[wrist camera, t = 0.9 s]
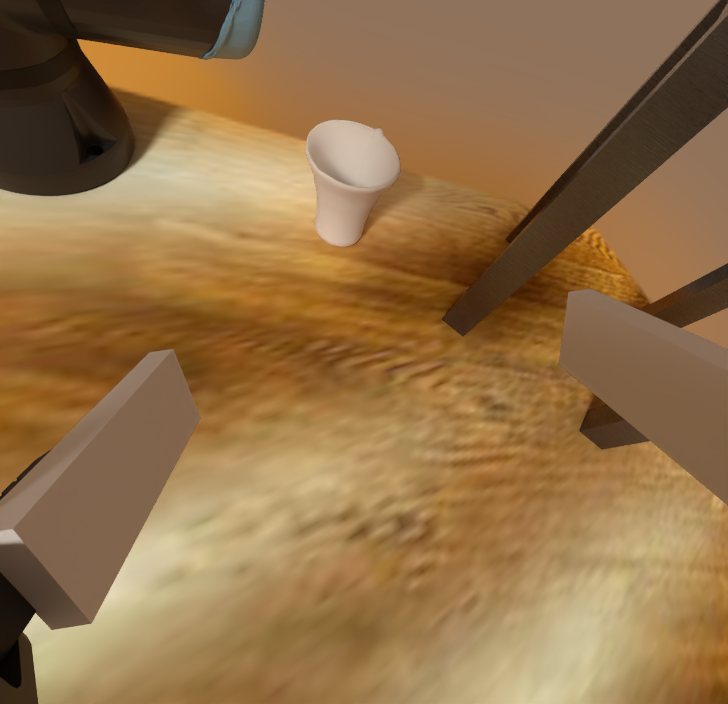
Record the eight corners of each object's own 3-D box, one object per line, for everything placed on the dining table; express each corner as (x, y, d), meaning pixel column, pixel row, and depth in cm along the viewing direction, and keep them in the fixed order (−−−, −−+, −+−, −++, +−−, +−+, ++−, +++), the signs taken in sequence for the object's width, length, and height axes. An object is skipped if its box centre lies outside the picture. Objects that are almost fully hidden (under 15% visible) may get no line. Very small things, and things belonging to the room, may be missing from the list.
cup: (388, 228, 44) (421, 155, 35) (342, 272, 39) (365, 203, 30) (331, 184, 44) (348, 101, 35) (279, 223, 40) (284, 141, 31)
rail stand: (602, 449, 39) (1455, 297, 11) (441, 319, 40) (839, -105, 12) (646, 330, 48) (1173, 83, 20) (514, 228, 49) (837, -134, 22)
